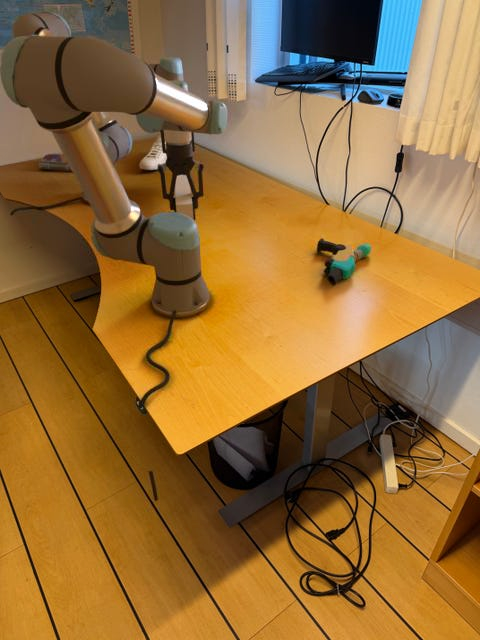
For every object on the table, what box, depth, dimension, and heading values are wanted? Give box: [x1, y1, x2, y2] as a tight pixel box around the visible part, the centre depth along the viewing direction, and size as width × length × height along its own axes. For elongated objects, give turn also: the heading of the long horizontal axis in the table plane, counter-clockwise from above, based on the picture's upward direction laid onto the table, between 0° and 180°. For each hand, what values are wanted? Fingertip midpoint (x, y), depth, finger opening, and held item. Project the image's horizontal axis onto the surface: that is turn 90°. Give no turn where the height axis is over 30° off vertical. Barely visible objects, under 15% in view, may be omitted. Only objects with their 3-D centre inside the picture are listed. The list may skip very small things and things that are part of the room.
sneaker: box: [139, 134, 167, 171], centre depth 214 cm, size 10×29×12 cm, turn 163°
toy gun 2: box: [316, 237, 372, 286], centre depth 138 cm, size 4×26×15 cm
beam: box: [174, 175, 195, 221], centre depth 164 cm, size 60×5×8 cm, turn 8°
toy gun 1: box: [37, 153, 73, 172], centre depth 215 cm, size 4×19×15 cm
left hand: (180, 170), depth 185 cm, fingers closed on beam, 5 cm apart
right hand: (185, 218), depth 148 cm, fingers closed on beam, 5 cm apart
